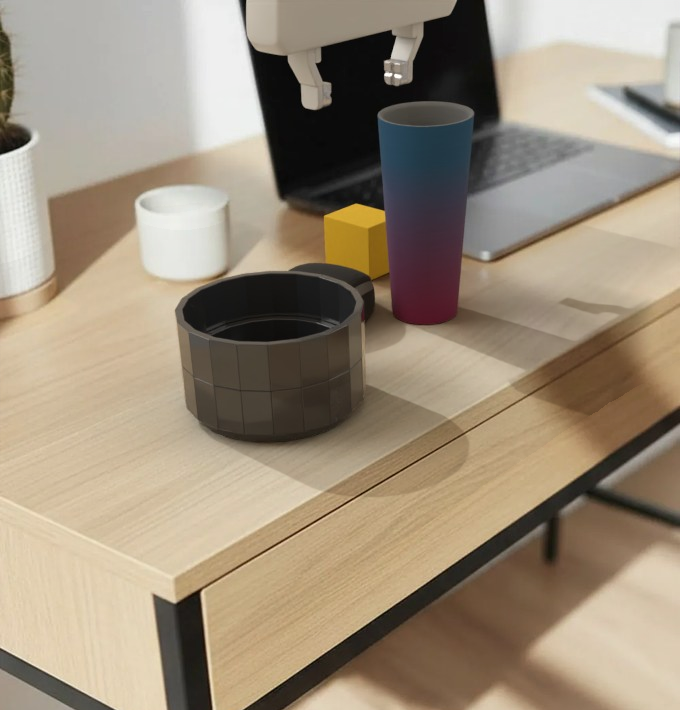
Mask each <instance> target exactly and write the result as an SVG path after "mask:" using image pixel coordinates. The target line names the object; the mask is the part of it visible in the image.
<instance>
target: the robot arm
mask: <svg viewBox="0 0 680 710" xmlns="http://www.w3.org/2000/svg"><path fill="white" fill-rule="evenodd" d="M457 1H458V0H246V3H245V24H246V36H247V39H248V40H249V42H250V44H251V45H252V46H253V48H254V50H256V51H258V52H260V53H265V54H271V55H277V56H287V62H288V64H289V67H290V69H291V70H292V72H293V74H294V75H295V77H296V79H297V81H298V83H299V84H300V93H301V104H302V106H303V108H305V109H308V110H312V111H317V110H321V109H324V108H328V107H329V106H331V104H332V96H331V94H332V83H331V82H328V81H323V78H322V76H321V74H320V72H319V71H320V70H319V69H318V67H317V64H319V63H321V61H322V47H327V46H330V45H336V44H338V43H343V42H347V41H350V40H351V41H352V40H355V39H359V38H363V37H367V36H371V35H376V34H379V33H383V32H387V31H391V34H392V36H396V37H395V41H394V44H393V49H392V52H391V55H390V56H391V57H390V58H389V59H386V60H383V66H384V67H383V70H384V75H383V79H384V82H385V83H386V85H389V86H395V87H400V86H403V85H407V84H410V83H412V81H413V69H414V68H413V67H414V65H413V63H414V60H415V58H416V55H417V52H418V51H419V48H420V45H421V43H422V40H423V38H424V23H425V22H428V21H432V20H436V19H440V18H444V17H448V16H450V15H451V14H452V12H453V10H454V8H455V6H456V4H457Z"/></svg>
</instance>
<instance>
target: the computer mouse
mask: <svg viewBox="0 0 680 710" xmlns="http://www.w3.org/2000/svg"><path fill="white" fill-rule="evenodd" d="M287 271H300V272H307V273H314V274H321V275H326V276H329V277H332V278H335V279H338V280H341V281H344V282H346V283H347V284H349V285H350V286H352V287H353V288H355V289H357V290H358V291H359V293H360V295H361V297H362V299H363V301H364V319H365V322H366V321H368V319H369V318H370V317H371V315H372V314H373V311H374V309H375V307H376V306H375V305H376V292H375V287H374V284H373V280H371V278H370V276H369V275H367V274H365V273H363V272H361V271H358V270H355V269H352V268H349V267H345V266H340V265H335V264H328V263H326V262H308V263H302V264H298V265H295V266H293V267H292V268H290V269H288V270H287Z"/></svg>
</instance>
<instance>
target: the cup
mask: <svg viewBox="0 0 680 710" xmlns="http://www.w3.org/2000/svg"><path fill="white" fill-rule="evenodd" d="M474 120H475V111H474V110H473V108H470V107H469V106H467V105H463V104H459V103H456V102H450V101H449V102H448V101H437V100H436V101H435V100H434V101H433V100H432V101H431V100H429V101H428V100H426V101H425V100H423V101H422V100H421V101H411V102H409V101H408V102H403V103H397V104H392V105H390V106H387V107H384V108H382V109H381V110H380V111H378V113H377V126H378V139H379V141H378V142H379V152H380V153H379V155H380V166H381V167H380V168H381V179H382V194H383V206H384V211H385V221H386V234H387V248H388V261H389V273H388V274H389V285H390V286H389V287H390V301H391V312H392V315H393V316H394V317H395V318H396V319H397V320H399V321H401V322H403V323H407V324H413V325H435V324H441V323H445V322H448V321H450V320H452V319H453V318H454V317H456V316H457V314H458V309H459V308H458V307H459V296H460V286H461V285H460V284H461V273H462V263H463V249H464V237H465V227H466V215H467V203H468V193H469V192H468V190H469V178H470V170H471V169H470V167H471V155H472V144H473V132H474V122H475V121H474Z"/></svg>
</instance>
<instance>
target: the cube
mask: <svg viewBox="0 0 680 710" xmlns="http://www.w3.org/2000/svg"><path fill="white" fill-rule="evenodd" d="M323 227H324V251H325V252H324V253H325V254H324V255H325V263H328V264H335V265H340V266H345V267H349V268H352V269H355V270H358V271H361V272H363V273H365V274H367V275H369V276H370V278H371V281H373V280H376V279H378V278H380V277H382V276H384V275H386V274H389V261H388V248H387V234H386V221H385V210H382V209H379V208H375V207H372V206H367V205H365V204H364V205H363V204H361V203H360V204H359V203H354V204H351V205H348V206H346V207H343V208H341V209H339V210H335V211H332V212H330V213H328V214H325V215H324V216H323Z"/></svg>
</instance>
